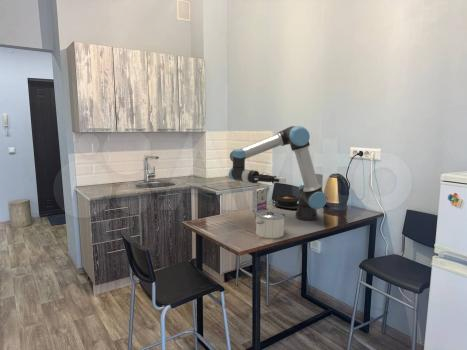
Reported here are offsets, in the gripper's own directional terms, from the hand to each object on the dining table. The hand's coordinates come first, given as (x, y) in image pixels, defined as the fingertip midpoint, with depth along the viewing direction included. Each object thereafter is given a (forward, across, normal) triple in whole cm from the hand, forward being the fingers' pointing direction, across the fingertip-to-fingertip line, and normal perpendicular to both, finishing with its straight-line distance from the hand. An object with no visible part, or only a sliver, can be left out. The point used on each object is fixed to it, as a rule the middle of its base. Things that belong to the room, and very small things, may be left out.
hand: (284, 181), depth 187 cm
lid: (-10, 0, -22) cm, 24 cm away
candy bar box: (-45, -40, -33) cm, 69 cm away
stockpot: (-9, 0, -33) cm, 34 cm away
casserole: (-36, -64, -33) cm, 80 cm away
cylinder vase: (-22, -80, -33) cm, 90 cm away
